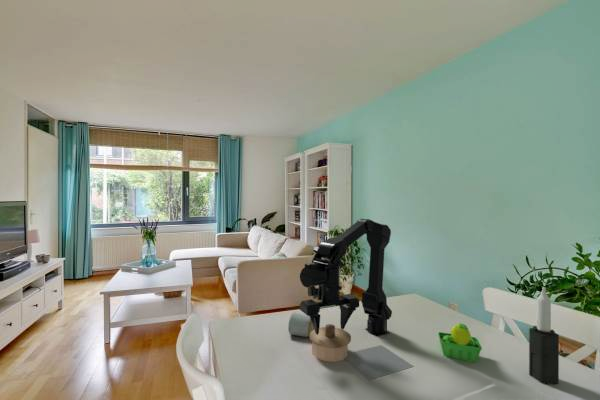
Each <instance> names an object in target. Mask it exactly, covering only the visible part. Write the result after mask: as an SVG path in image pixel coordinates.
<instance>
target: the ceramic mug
mask: <svg viewBox="0 0 600 400" xmlns="http://www.w3.org/2000/svg"><path fill="white" fill-rule="evenodd" d="M313 330H314V327H313V324H312V321H311V319H310V316H308V315H306V314H305V313H301V312H297V311H293V312H292V313H291V314H290V315H289V320H288V333H289V335H292V336H298V337H302V338H303V337H304V338H309V335H310V332H311V331H313Z"/></svg>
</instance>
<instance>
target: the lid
mask: <svg viewBox="0 0 600 400" xmlns="http://www.w3.org/2000/svg"><path fill="white" fill-rule="evenodd" d="M308 338H309V340H310V341H311V343H312V342H313V343H314V344H316V345H319V346H322V347H327V348H338V347H343V346H346V345H348V346H349V344H351V341H352V336H351V334H350V333H349V332H348V331H346V330H345V329H341V328H338V327H336V326H335V325H334V324H333V323H332V324H331V323H329V324H326V325H325V326H324V327H319V334H318V335H317V334H316V333H315V330H313V331H311V332H310V335H309V337H308Z"/></svg>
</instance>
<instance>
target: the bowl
mask: <svg viewBox="0 0 600 400" xmlns="http://www.w3.org/2000/svg"><path fill="white" fill-rule="evenodd" d="M348 353H349V344H348V345H346V346H343V347H338V348H327V347H322V346H319V345H316V344H314V343H313V342H312V341H311V355H313V356H314V357H315V358H316V359H318V360H321V361H324V362H334V363H336V362H340V361H344V360H345V359H344V358H345V357H346V356H347V355H348Z"/></svg>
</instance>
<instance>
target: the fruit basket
mask: <svg viewBox="0 0 600 400" xmlns="http://www.w3.org/2000/svg"><path fill="white" fill-rule="evenodd" d="M437 334H438V338H439V339H438V340H439V342H440V348H441V350H442V351H441V352H442V355H443V356H444V357H447V358H449V359H450V358H452V359H455V360H456V359H457V360H461V361H467V362H468V361H469V362H473V363H477V362H478V359H479V356H480V352H481V351H482V350H483V347H482V345H481V343H480V341H479V339H478V338H477V337H474V336H472V335H471V332H470V330H469V328H468V326H467V325H466V324H465V323H462V322H461V323H460V322H459V323H457V324H455V325H454V326H453V327H451V330H450V333H448V332H441V331H438V332H437Z"/></svg>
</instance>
